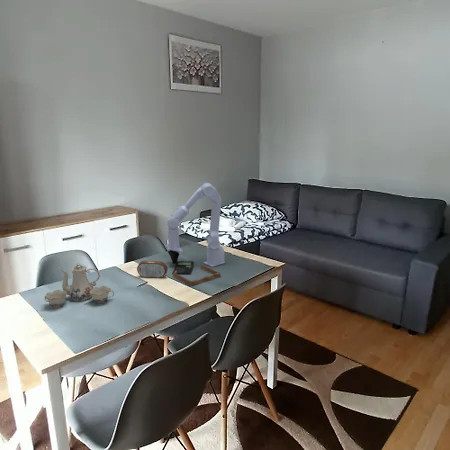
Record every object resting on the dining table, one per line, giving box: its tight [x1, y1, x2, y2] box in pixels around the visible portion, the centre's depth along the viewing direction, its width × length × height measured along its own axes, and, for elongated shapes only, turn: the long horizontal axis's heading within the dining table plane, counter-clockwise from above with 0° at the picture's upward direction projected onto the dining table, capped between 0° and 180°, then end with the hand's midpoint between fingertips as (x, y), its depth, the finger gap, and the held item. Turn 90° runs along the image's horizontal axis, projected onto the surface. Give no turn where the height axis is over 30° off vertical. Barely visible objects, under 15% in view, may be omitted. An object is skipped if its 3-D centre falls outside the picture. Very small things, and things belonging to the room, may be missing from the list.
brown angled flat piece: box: [172, 264, 222, 287], centre depth 184 cm, size 18×16×2 cm
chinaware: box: [44, 262, 115, 308], centre depth 158 cm, size 28×17×17 cm, turn 107°
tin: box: [136, 260, 168, 279], centre depth 183 cm, size 15×3×8 cm, turn 84°
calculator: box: [171, 260, 195, 276], centre depth 193 cm, size 9×12×3 cm
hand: (174, 263), depth 199 cm, fingers closed
